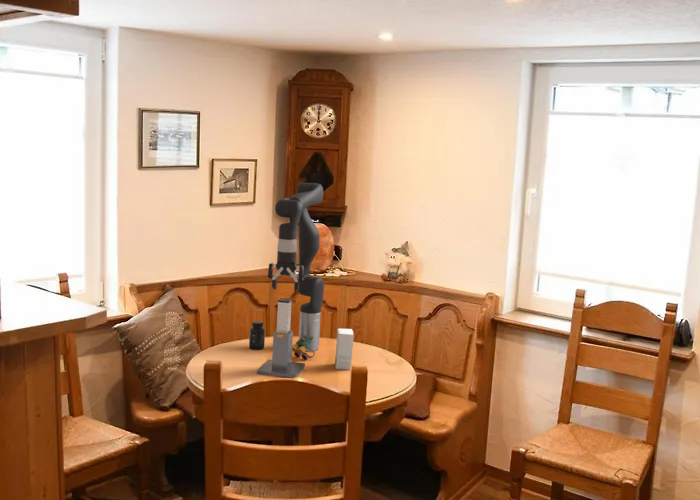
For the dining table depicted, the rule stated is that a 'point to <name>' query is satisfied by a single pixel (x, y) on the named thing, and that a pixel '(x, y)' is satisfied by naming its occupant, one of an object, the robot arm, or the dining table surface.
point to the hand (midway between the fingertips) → (285, 290)
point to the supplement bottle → (257, 336)
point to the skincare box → (344, 349)
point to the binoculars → (302, 347)
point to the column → (284, 316)
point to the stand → (281, 358)
